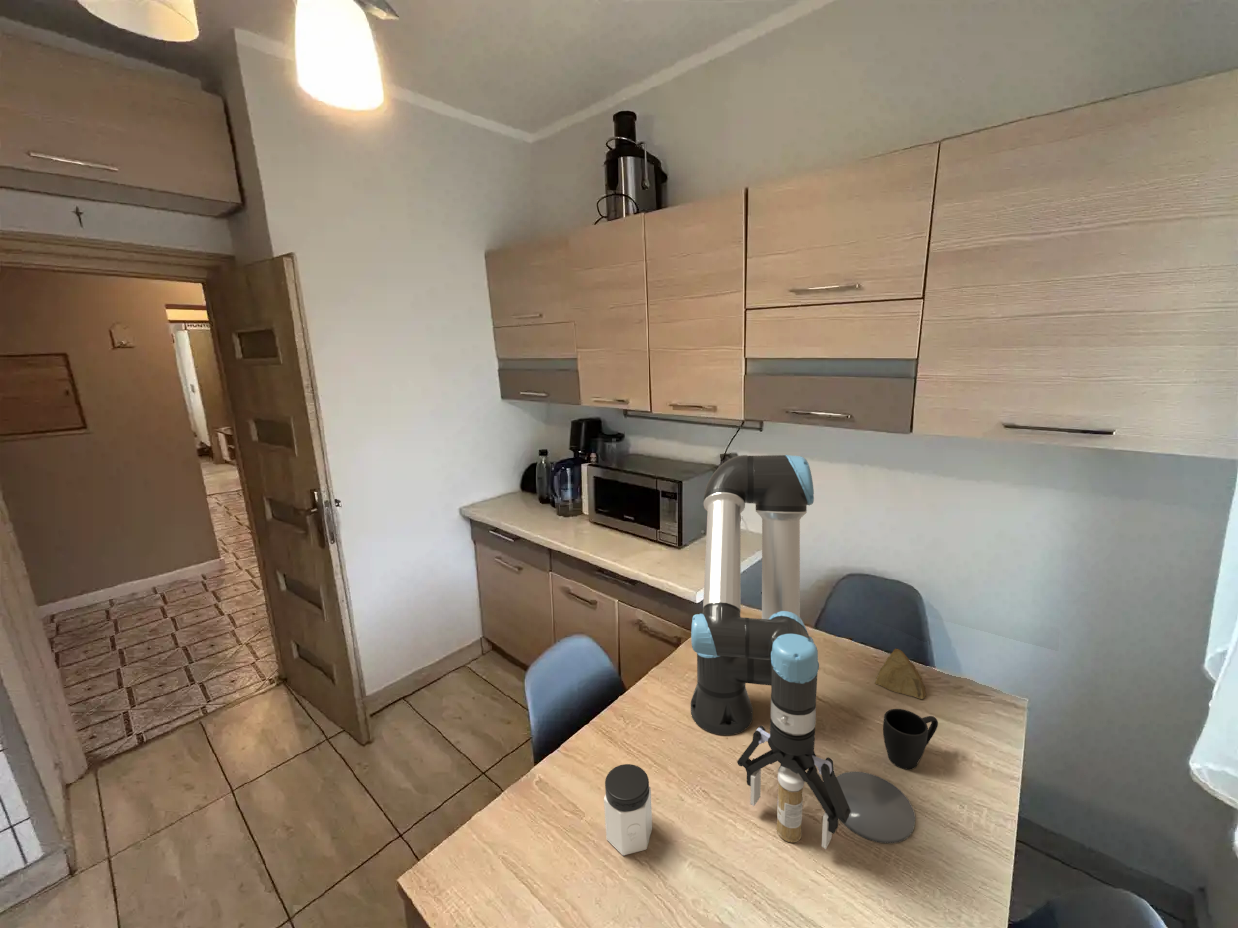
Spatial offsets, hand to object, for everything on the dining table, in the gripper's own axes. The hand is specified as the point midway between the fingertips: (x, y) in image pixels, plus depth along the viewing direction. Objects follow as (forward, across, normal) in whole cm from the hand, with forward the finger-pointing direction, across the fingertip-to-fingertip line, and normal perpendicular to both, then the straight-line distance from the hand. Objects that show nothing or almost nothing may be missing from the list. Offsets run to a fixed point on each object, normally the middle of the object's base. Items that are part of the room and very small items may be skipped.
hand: (789, 820), depth 94 cm
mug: (+3, +13, +33) cm, 36 cm away
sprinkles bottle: (+3, 0, 0) cm, 3 cm away
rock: (+3, +6, +56) cm, 56 cm away
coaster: (+3, +10, +15) cm, 18 cm away
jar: (+3, -23, -19) cm, 30 cm away
